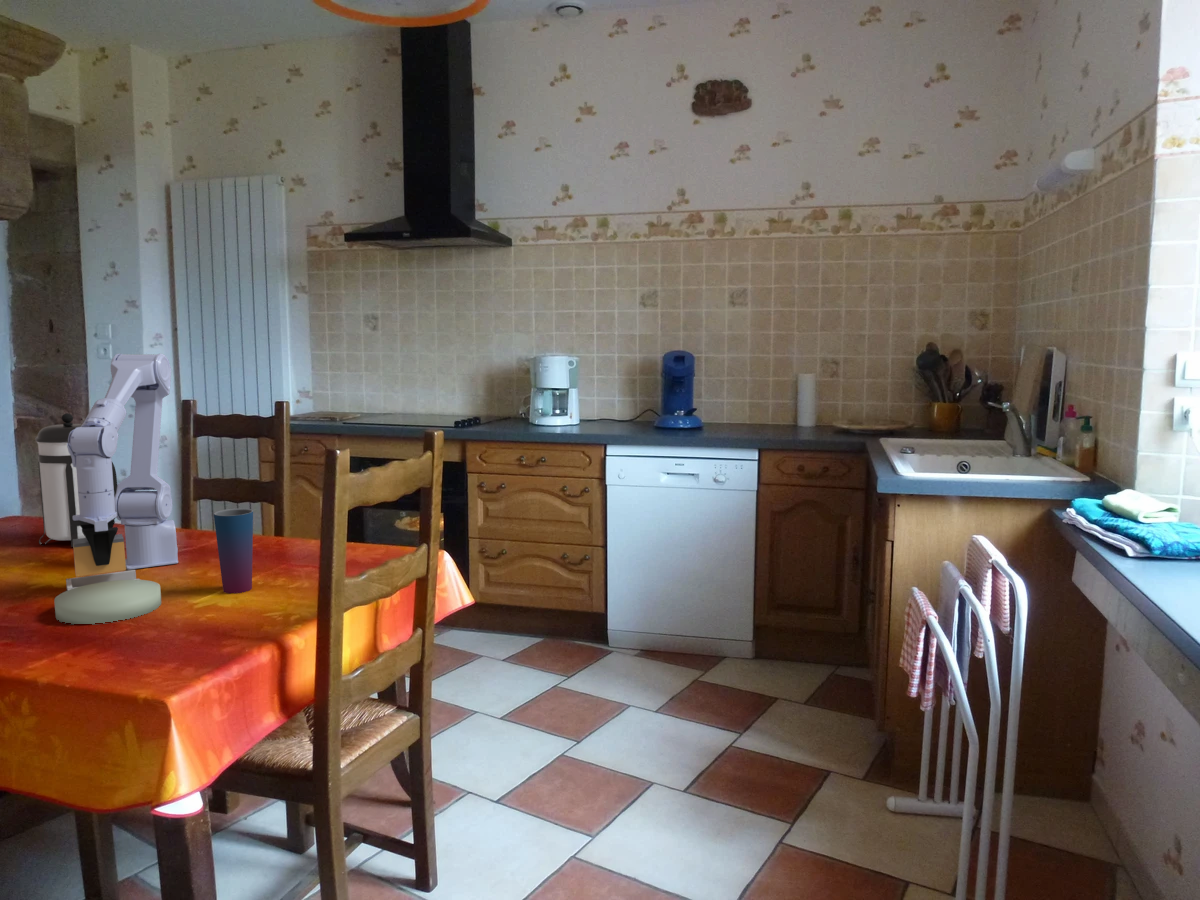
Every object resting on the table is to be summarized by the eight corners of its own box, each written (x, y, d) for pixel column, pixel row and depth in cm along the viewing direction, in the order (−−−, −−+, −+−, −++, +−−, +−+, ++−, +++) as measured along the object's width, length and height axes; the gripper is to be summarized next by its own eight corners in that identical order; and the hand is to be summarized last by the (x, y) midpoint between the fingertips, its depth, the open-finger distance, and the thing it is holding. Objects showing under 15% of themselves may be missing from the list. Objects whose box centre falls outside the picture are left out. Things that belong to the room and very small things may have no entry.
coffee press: (31, 553, 185) (19, 417, 181) (46, 537, 199) (35, 411, 195) (121, 545, 191) (111, 415, 187) (129, 530, 206) (120, 409, 202)
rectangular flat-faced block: (124, 564, 162) (121, 533, 161) (126, 570, 158) (123, 538, 157) (75, 571, 157) (72, 539, 156) (76, 576, 154) (73, 544, 153)
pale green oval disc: (148, 577, 166) (147, 563, 166) (167, 613, 145) (166, 596, 144) (52, 591, 157) (51, 575, 157) (57, 631, 136) (55, 613, 135)
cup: (219, 597, 154) (214, 517, 152) (217, 587, 160) (212, 510, 158) (258, 592, 157) (254, 513, 155) (255, 582, 163) (251, 507, 161)
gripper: (68, 487, 159) (74, 556, 161) (72, 499, 148) (78, 573, 149) (111, 483, 163) (116, 551, 165) (118, 495, 151) (123, 568, 153)
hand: (101, 561), depth 157 cm, fingers closed on rectangular flat-faced block, 4 cm apart
